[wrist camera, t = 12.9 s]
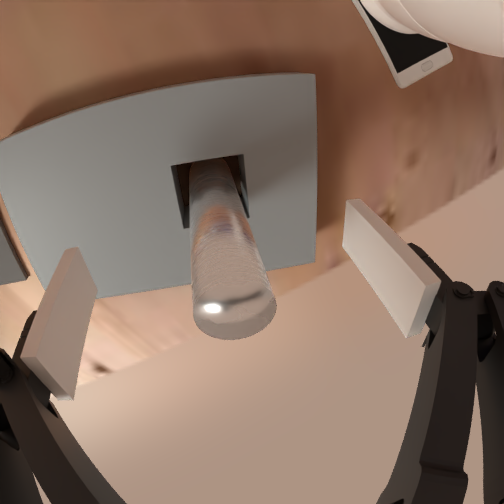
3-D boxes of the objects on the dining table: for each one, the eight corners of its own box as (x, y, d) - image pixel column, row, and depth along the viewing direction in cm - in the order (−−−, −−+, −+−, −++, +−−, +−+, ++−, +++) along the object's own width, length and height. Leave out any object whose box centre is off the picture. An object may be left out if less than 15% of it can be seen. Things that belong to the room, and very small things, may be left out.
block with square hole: (63, 279, 25) (53, 305, 22) (9, 135, 17) (-14, 148, 14) (301, 238, 27) (314, 262, 24) (297, 72, 19) (315, 74, 16)
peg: (193, 195, 23) (202, 345, 12) (186, 158, 21) (184, 288, 10) (232, 189, 23) (277, 331, 12) (227, 152, 22) (275, 273, 10)
